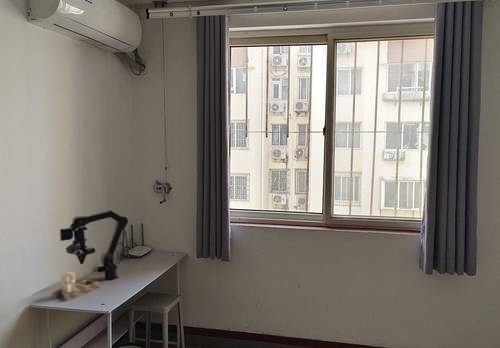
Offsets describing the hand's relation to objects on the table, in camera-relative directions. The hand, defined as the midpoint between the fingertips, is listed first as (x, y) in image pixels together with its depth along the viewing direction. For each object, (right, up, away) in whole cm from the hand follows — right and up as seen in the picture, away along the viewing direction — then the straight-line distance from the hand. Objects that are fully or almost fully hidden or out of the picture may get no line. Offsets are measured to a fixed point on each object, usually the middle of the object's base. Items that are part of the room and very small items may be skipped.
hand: (81, 264), depth 249 cm
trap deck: (+2, -13, -12) cm, 18 cm away
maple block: (0, -11, -17) cm, 20 cm away
